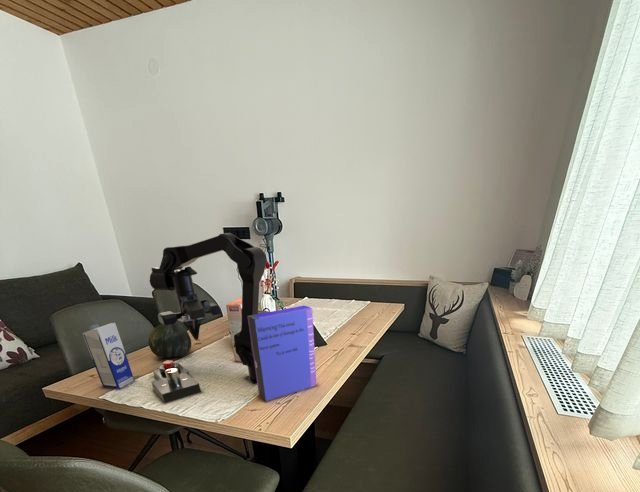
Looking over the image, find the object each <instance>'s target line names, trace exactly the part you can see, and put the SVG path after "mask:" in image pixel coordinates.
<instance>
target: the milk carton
mask: <svg viewBox="0 0 640 492" xmlns="http://www.w3.org/2000/svg"><path fill="white" fill-rule="evenodd" d="M88 329H89V330H87V331H85V332H83V333H81V335H82V336H83V339H84V342H85V344H86V347H87V350H88V352H89V355H90V357H91V360H92V362H93V365H94V368H95V370H96V373H97V376H98V377H99V380H100V382H101V386H102V388H104V389H105V388H106V389H112V390H121V389H122V388H124V387H126V386H129V385H130V384H132V383H134V382H135V378H134V374H133V372H132V369H131V366H130V363H129V359H128V357H127V354H126V351H125V348H124V345H123V341H122V339H121V336H120V333H119V330H118V327H117V323H116V322H111V323H107V324H104V325H102V326H100V325H99V323H95V324H92V325H91V326H88Z"/></svg>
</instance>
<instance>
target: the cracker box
mask: <svg viewBox="0 0 640 492" xmlns="http://www.w3.org/2000/svg"><path fill="white" fill-rule="evenodd" d="M225 308H226V313H227V321H228V327H229V332H230V339H231V344H232V351H233V357H234V362H241V360H240V357H239V355H238V354H237V353H236V351H235V347H233V346H234V343H235V341H234V335H235V334H237V333H239V332H240V331H241V324H242V296H240V297H238V298H236V299H234V300H232V301H230V302H228V303H227V304H225ZM241 363H242V362H241Z"/></svg>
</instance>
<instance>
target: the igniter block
mask: <svg viewBox="0 0 640 492" xmlns="http://www.w3.org/2000/svg"><path fill="white" fill-rule="evenodd" d="M173 363H174V367H171V368H176V369H178V373H179V374H181V373H185V372H186V373H187V374H188V375H189V376H190V371H189V370H188V369H186V368H185V367H184V366H183V365H181V364H180V363H178V362H173ZM171 368H164V365H163V364H161V365H160V366H159V367H158V368H156V369H153V370H152V373H153V376H154V377H155V378H156V380H159V379H163V378H167V377H166V373H165V371H166V370H168V369H171Z"/></svg>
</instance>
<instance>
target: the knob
mask: <svg viewBox="0 0 640 492" xmlns="http://www.w3.org/2000/svg"><path fill="white" fill-rule="evenodd" d="M165 373H166V377H167V380H168V384H169V385H175V384H178V383H180V382H181V381H180V377H179V373H178V369H176V368H171V369H168V370H166V371H165Z"/></svg>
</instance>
